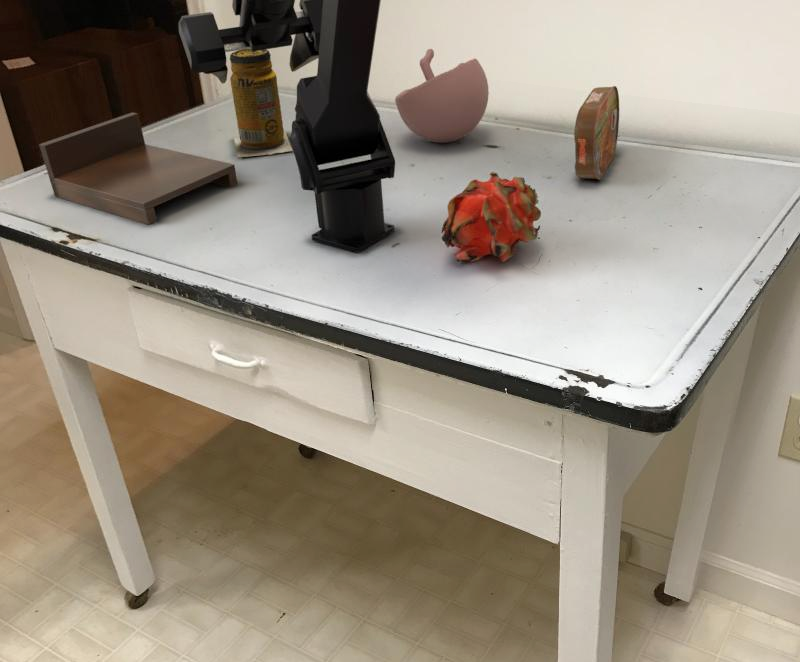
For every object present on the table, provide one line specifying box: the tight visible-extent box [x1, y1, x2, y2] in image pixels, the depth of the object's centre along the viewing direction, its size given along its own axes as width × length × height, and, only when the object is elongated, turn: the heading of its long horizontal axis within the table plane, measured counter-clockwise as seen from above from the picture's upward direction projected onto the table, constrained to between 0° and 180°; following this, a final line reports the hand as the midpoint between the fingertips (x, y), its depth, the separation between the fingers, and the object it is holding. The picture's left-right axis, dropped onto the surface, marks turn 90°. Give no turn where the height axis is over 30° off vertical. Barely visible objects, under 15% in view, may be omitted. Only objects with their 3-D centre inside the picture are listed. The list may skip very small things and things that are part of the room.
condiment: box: [229, 48, 293, 158], centre depth 113 cm, size 7×8×12 cm
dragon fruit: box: [441, 171, 542, 263], centre depth 83 cm, size 8×8×12 cm
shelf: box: [39, 112, 239, 225], centre depth 103 cm, size 18×14×6 cm
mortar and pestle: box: [394, 48, 490, 144], centre depth 111 cm, size 12×12×12 cm
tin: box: [573, 85, 620, 181], centre depth 100 cm, size 15×3×8 cm, turn 158°
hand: (257, 74), depth 108 cm, fingers open, 9 cm apart
